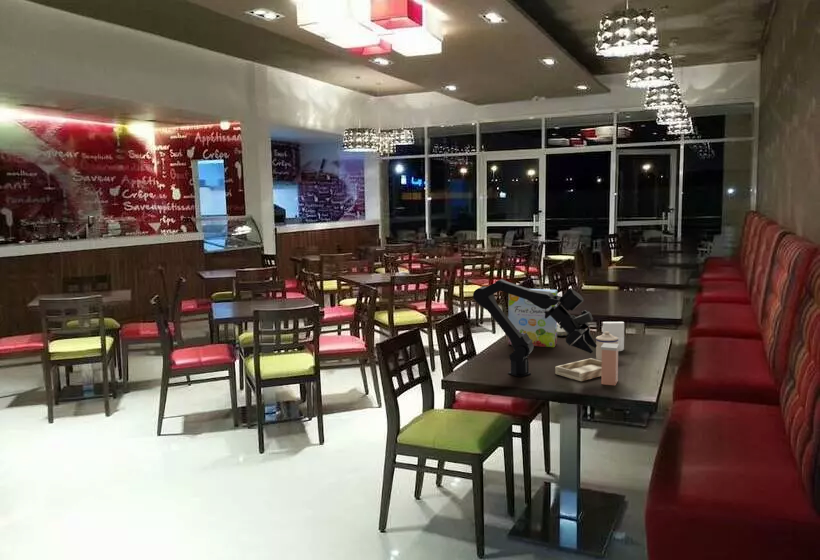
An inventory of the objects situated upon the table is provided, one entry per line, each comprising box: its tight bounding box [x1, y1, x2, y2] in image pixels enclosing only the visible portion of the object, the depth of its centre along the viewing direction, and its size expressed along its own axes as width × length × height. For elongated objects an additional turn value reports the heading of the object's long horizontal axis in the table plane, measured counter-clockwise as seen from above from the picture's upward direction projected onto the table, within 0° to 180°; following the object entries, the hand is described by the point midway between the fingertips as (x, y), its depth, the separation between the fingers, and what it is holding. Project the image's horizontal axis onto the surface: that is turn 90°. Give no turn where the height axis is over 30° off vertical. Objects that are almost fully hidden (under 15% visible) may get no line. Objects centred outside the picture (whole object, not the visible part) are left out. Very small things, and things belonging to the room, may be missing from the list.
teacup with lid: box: [595, 332, 618, 361], centre depth 282 cm, size 12×9×12 cm
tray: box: [554, 357, 602, 382], centre depth 261 cm, size 20×13×3 cm, turn 124°
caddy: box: [600, 343, 619, 386], centre depth 247 cm, size 6×7×14 cm
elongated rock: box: [557, 323, 568, 337], centre depth 340 cm, size 35×5×10 cm
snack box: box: [507, 288, 558, 348], centre depth 309 cm, size 22×9×26 cm, turn 72°
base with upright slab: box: [602, 321, 625, 352], centre depth 297 cm, size 9×9×12 cm
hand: (594, 349), depth 248 cm, fingers open, 9 cm apart
